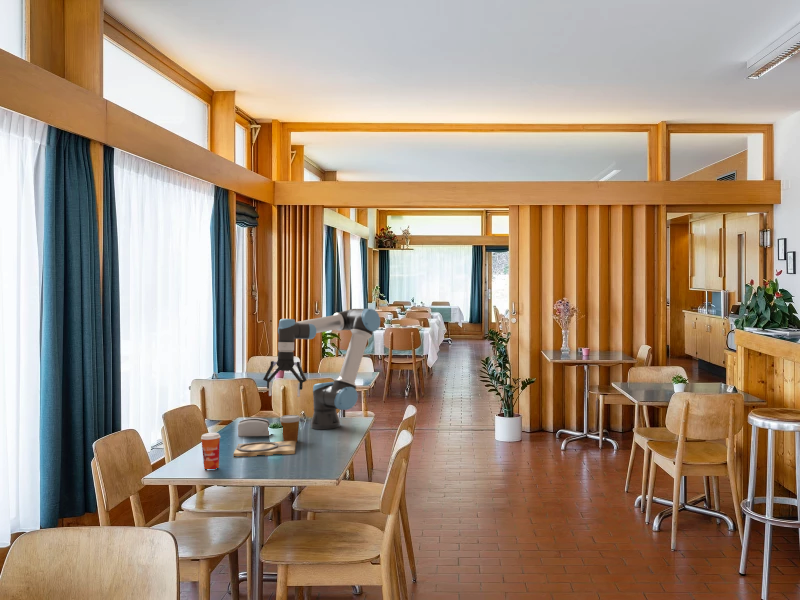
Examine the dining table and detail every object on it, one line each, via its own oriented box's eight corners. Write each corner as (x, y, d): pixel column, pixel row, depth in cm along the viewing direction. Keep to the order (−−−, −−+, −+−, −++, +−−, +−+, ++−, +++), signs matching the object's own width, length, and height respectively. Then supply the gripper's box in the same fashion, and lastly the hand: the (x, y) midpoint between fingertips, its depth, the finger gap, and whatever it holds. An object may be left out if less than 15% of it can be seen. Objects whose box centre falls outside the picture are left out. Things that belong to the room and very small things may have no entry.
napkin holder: (273, 433, 348) (271, 416, 345) (271, 438, 344) (268, 420, 340) (240, 434, 349) (238, 416, 346) (238, 439, 345) (235, 421, 341)
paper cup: (198, 471, 275) (197, 436, 275) (205, 466, 283) (204, 432, 283) (218, 471, 275) (217, 436, 275) (224, 466, 282) (223, 432, 282)
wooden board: (295, 444, 322) (295, 439, 322) (294, 453, 302) (294, 448, 302) (238, 447, 318) (238, 442, 318) (233, 457, 298) (233, 452, 298)
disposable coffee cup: (278, 441, 330) (277, 415, 329) (298, 439, 333) (297, 414, 333) (282, 444, 321) (281, 419, 321) (302, 442, 324) (302, 417, 324)
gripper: (258, 350, 327) (256, 396, 326) (310, 352, 326) (309, 397, 325) (261, 350, 334) (260, 394, 333) (313, 351, 333) (311, 396, 332)
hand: (284, 396), depth 329 cm, fingers open, 13 cm apart
